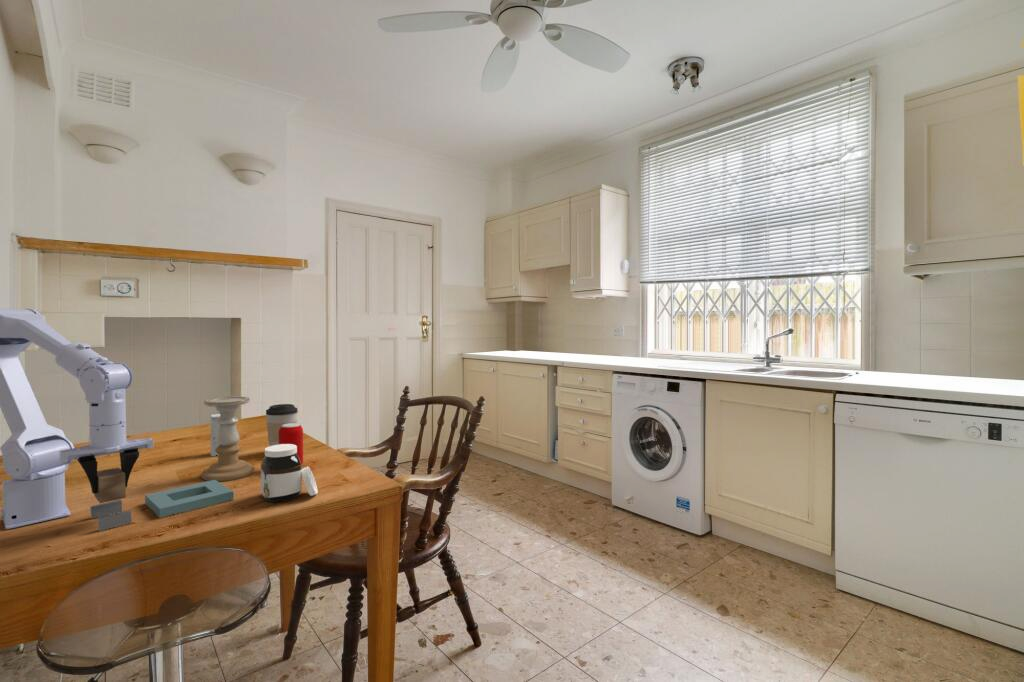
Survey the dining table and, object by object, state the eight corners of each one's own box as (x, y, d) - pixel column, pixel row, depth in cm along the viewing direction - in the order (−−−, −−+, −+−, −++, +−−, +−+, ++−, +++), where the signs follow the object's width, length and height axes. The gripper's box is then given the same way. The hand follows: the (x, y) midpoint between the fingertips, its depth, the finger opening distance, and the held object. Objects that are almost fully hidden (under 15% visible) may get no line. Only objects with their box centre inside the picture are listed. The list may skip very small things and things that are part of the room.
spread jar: (256, 495, 114) (256, 446, 114) (305, 484, 122) (304, 438, 122) (274, 509, 106) (273, 456, 105) (325, 496, 114) (325, 447, 113)
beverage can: (280, 464, 138) (280, 423, 137) (304, 463, 140) (303, 421, 139) (277, 471, 132) (277, 427, 132) (302, 469, 134) (301, 426, 133)
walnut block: (100, 503, 95) (99, 478, 95) (94, 495, 99) (93, 471, 99) (125, 497, 98) (125, 473, 98) (119, 490, 102) (118, 467, 102)
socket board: (160, 518, 100) (159, 508, 100) (145, 503, 108) (145, 494, 108) (233, 499, 111) (233, 491, 111) (215, 487, 119) (215, 479, 119)
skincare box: (210, 456, 145) (210, 416, 145) (210, 453, 149) (209, 414, 149) (234, 453, 149) (233, 414, 148) (233, 450, 152) (232, 412, 152)
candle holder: (257, 465, 137) (256, 394, 136) (250, 479, 126) (249, 401, 125) (207, 469, 133) (206, 396, 132) (195, 484, 121) (193, 404, 121)
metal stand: (99, 531, 94) (99, 518, 94) (90, 517, 100) (90, 506, 100) (131, 523, 98) (131, 511, 98) (120, 510, 104) (120, 499, 104)
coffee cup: (266, 450, 153) (266, 403, 152) (298, 447, 157) (297, 401, 156) (265, 457, 145) (264, 408, 144) (298, 454, 149) (298, 405, 148)
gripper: (62, 432, 90) (64, 504, 91) (156, 420, 101) (157, 484, 102) (57, 426, 95) (59, 494, 95) (147, 416, 106) (149, 477, 106)
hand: (109, 489), depth 99 cm, fingers closed on walnut block, 4 cm apart
